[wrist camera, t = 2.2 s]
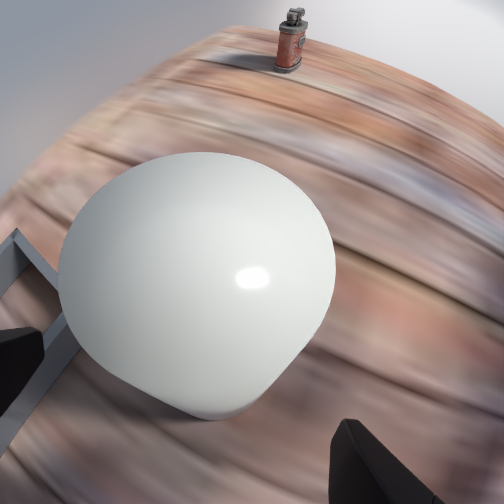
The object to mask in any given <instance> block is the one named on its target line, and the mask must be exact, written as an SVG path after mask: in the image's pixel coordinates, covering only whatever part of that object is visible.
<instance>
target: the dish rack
mask: <svg viewBox="0 0 504 504" xmlns="http://www.w3.org/2000/svg"><path fill="white" fill-rule="evenodd" d="M30 262H32V263H33V264H34V265H35V267H36V268H37V269H38V270H39V271H40V272H41V273H42V275H43V276H44V277H45V278H46V279H47V280H48V281H49V282H50V283H51V285H52V286H53V287H54V288H55V289H56V290H57V291H58V273H57V272H56V271H55V270H54V269H53V268H52V267H51V266H50V265H49V264H48V262H47V261H46V260H45V259H44V258H43V257H42V256H41V255H40V254H39V253H38V252H37V250H36V249H35V248H34V247H33V246H32V245H31V244H30V243H29V241H28V240H27V239H26V238H25V237H24V236H23V234H22V233H21V232H20V231H19V230H18V228H16V229H15V230H14V231H13V232H12V233H11V234H10V235H9V236H8V237H7V238H6V239H5V241H4V242H3V243H2V244H1V245H0V298H1V296H2V295H3V294H4V293H5V291H6V290H7V289H8V288H9V287H10V285H11V284H12V283H13V282H14V281H15V279H16V278H17V277H18V276H19V275H20V274H21V272H22V271H23V270H24V269H25V268H26V267H27V266H28V265H29V263H30ZM58 292H59V291H58ZM43 342H44V350H45V357H44V360H43V362H42V363H41V364H40V366H39V367H38V369H37V370H36V372H35V373H34V374H33V376H32V377H31V379H30V380H29V382H28V383H27V385H26V386H25V388H24V389H23V391H22V392H21V393H20V395H19V396H18V397H17V398H16V399H15V401H14V402H13V403H12V404H11V405H10V407H9V408H8V409H7V410H6V412H5V413H4V414H3V415H2V417H1V418H0V458H1V456H2V455H3V453H4V452H5V450H6V449H7V447H8V446H9V444H10V443H11V441H12V440H13V438H14V437H15V435H16V434H17V432H18V431H19V429H20V428H21V427H22V425H23V424H24V422H25V421H26V419H27V418H28V417H29V415H30V414H31V412H32V411H33V410H34V408H35V407H36V406H37V404H38V403H39V401H40V400H41V399H42V397H43V396H44V395H45V393H46V392H47V391H48V389H49V388H50V387H51V385H52V384H53V383H54V381H55V380H56V379H57V377H58V376H59V375H60V374H61V372H62V371H63V370H64V368H65V367H66V366H67V365H68V363H69V362H70V361H71V360H72V358H73V357H74V356H75V354H76V353H77V352H78V351H79V349H80V348H81V347H82V346H81V345H80V344H79V342H78V341H77V339H76V338H75V336H74V334H73V333H72V331H71V330H70V328H69V325H68V323H67V321H66V318H65V316H64V314H63V312H62V313H61V314H60V315H59V316H58V317H57V319H56V320H55V321H54V322H53V324H52V325H51V326H50V327H49V328H48V330H47V331H46V332H45V333H44V335H43Z"/></svg>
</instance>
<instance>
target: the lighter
mask: <svg viewBox="0 0 504 504" xmlns="http://www.w3.org/2000/svg"><path fill="white" fill-rule="evenodd" d="M304 14H305V10H304V8H297V9H292V8H291V9H290V10H289V12H288V13H287V21H284V22H282V23H281V24H280V26H279V31H280V37H279V44H278V52H277V59H276V62H275V64H274V70H275V71H276V72H279V73H283V74H289V73H292V72H294V71H295V70H297V69H298V68H299V66H300V65H301V60H302V57H301V53H302V47H303V44H304V41H305V30H306V29H307V26H308V22H306V21H303V20H301V17H302V16H304Z"/></svg>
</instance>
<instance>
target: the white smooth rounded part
mask: <svg viewBox="0 0 504 504" xmlns="http://www.w3.org/2000/svg"><path fill="white" fill-rule="evenodd" d="M335 274H336V266H335V253H334V248H333V243H332V239H331V236H330V233H329V231H328V228H327V225H326V223H325V222H324V220H323V218H322V216H321V214H320V212H319V211H318V209H317V208H316V207H315V205H314V204H313V203H312V201H311V200H310V199H309V198H308V197H307V196H306V195H305V193H304V192H303V191H302V190H301V189H300V188H298V187H297V186H296V185H295V184H294V183H292V182H291V181H290V180H289V179H287V178H286V177H284V176H283V175H281V174H280V173H278V172H276V171H274V170H272V169H271V168H269V167H267V166H265V165H262V164H260V163H257V162H255V161H252V160H249V159H245V158H242V157H239V156H234V155H228V154H222V153H212V152H191V153H180V154H174V155H169V156H164V157H161V158H157V159H153V160H150V161H148V162H145V163H142V164H140V165H137V166H135V167H133V168H131V169H129V170H127V171H125V172H124V173H122V174H120V175H119V176H117V177H115V178H114V179H112V180H111V181H110V182H108V183H107V184H106V185H105V186H103V187H102V188H101V189H100V190H99V191H98V192H97V193H95V194H94V195H93V196H92V197H91V198H90V199H89V201H88V202H87V203H86V204H85V205H84V207H83V208H82V209H81V210H80V212H79V213H78V215H77V216H76V218H75V220H74V221H73V223H72V225H71V227H70V229H69V231H68V233H67V235H66V238H65V240H64V243H63V246H62V249H61V254H60V259H59V265H58V291H59V298H60V302H61V306H62V310H63V314H64V316H65V318H66V321H67V323H68V325H69V328H70V330H71V331H72V333H73V334H74V336H75V338H76V339H77V341H78V342H79V344H80V345H81V346H82V347H83V349H84V350H85V351H86V352H87V353H88V354H89V355H90V356H91V358H92V359H93V360H95V361H96V362H97V363H98V364H100V365H101V366H102V367H103V368H104V369H106V370H107V371H108V372H110V373H112V374H113V375H115V376H117V377H118V378H120V379H122V380H124V381H125V382H127V383H129V384H131V385H132V386H134V387H136V388H138V389H140V390H142V391H143V392H145V393H147V394H149V395H151V396H153V397H155V398H157V399H159V400H161V401H163V402H165V403H167V404H169V405H171V406H173V407H175V408H177V409H179V410H181V411H183V412H186V413H188V414H190V415H192V416H195V417H197V418H200V419H204V420H210V421H220V420H226V419H230V418H233V417H236V416H238V415H240V414H242V413H243V412H245V411H246V410H247V409H249V408H250V407H251V406H252V405H253V404H254V403H255V402H256V401H257V400H258V399H259V397H260V396H261V395H262V394H263V393H264V392H265V391H266V390H267V389H268V388H269V387H270V385H271V384H272V383H273V382H274V381H275V380H276V379H277V378H278V377H279V375H280V374H281V373H282V372H283V371H284V370H285V369H286V368H287V366H288V365H289V364H290V363H291V362H292V361H293V359H294V358H295V357H296V356H297V355H298V354H299V352H300V351H301V350H302V349H303V348H304V346H305V345H306V344H307V343H308V342H309V340H310V339H311V338H312V336H313V335H314V333H315V332H316V330H317V329H318V327H319V326H320V324H321V323H322V320H323V318H324V316H325V314H326V312H327V309H328V307H329V305H330V301H331V297H332V294H333V290H334V283H335Z"/></svg>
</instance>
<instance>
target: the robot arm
mask: <svg viewBox="0 0 504 504" xmlns="http://www.w3.org/2000/svg"><path fill="white" fill-rule="evenodd" d="M44 357H45V350H44V342H43V335H42V333H41V331H39V330H37V329H35V328H34V327H24V328H16V329H7V330H0V418H1V417H2V415H3V414H4V413H5V412H6V410H7V409H8V408H9V407H10V405H11V404H12V403H13V402H14V401H15V399H16V398H17V397H18V396H19V395H20V393H21V392H22V391H23V389H24V388H25V386H26V385H27V383H28V382H29V380H30V379H31V377H32V376H33V374H34V373H35V372H36V370H37V369H38V367H39V366H40V364H41V363H42V362H43V360H44ZM328 494H329V504H445V503H444V502H443V501H442V500H440V499H439V498H438V497H437V496H436V495H434V493H433V492H432V491H431V490H430V489H428V488H427V487H426V486H425V485H424V484H423V483H422V482H421V481H420V480H419V479H418V478H417V477H416V476H415V475H414V474H413V473H412V472H410V471H409V470H408V469H407V468H406V467H405V466H404V465H403V464H402V463H401V462H400V461H399V460H398V459H397V458H396V457H395V456H394V455H393V454H392V453H391V452H390V451H389V450H388V449H387V448H386V447H385V446H384V445H383V444H382V443H381V442H380V441H379V440H378V439H377V438H376V437H375V436H374V435H373V434H372V433H371V432H370V431H369V430H368V429H367V428H366V427H365V426H364V425H363V424H362V423H361V422H360V421H359V420H356V419H343V420H342V421H341V423H340V425H339V427H338V429H337V431H336V432H335V434H334V436H333V438H332V441H331V446H330V468H329V487H328Z"/></svg>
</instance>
